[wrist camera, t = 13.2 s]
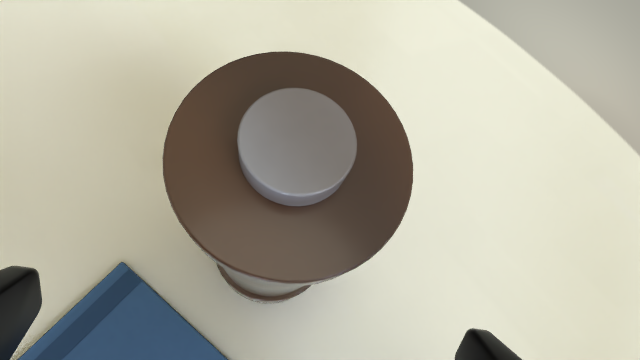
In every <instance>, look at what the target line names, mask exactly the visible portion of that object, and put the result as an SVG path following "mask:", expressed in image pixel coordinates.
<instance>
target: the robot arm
mask: <svg viewBox="0 0 640 360" xmlns="http://www.w3.org/2000/svg"><path fill="white" fill-rule="evenodd" d="M41 304H42V296H41V288H40V280H39V274H38V272H37V270H36V269H34V268H28V267H21V266H10V267H7V268H5V269H2V270H0V360H10V358H11V357H12V355H13V353H14V352H15V350H16V349H17V347H18V345H19V344H20V342H21V341H22V339H23V337H24V336H25V334H26V332H27V331H28V329H29V328H30V326H31V324H32V323H33V321H34V320H35V318H36V316H37V315H38V313H39V311H40V308H41ZM455 360H522V359H521V358H520V357H518V356H517V355H516V354H515V353H514V352H513V351H511V350H510V349H509V348H508V347H507V346H506V345H504V344H503V343H502V342H501V341H500V340H499V339H497V338H496V337H495V336H494V335H493V334H492V333H490V332H489V331H486V330H481V329H473V328H472V329H469V330H468V331H467V332H466V334H465V336H464V338H463V340H462V342H461V344H460V346H459V348H458V350H457V352H456V355H455Z"/></svg>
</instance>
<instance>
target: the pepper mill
mask: <svg viewBox="0 0 640 360" xmlns="http://www.w3.org/2000/svg"><path fill="white" fill-rule="evenodd" d="M163 176H164V182H165V187H166V192H167V195H168V198H169V201H170V203H171V206H172V208H173V210H174V212H175V214H176V216H177V218H178V220H179V222H180V223H181V225H182V226H183V228H184V229H185V230H186V232H187V233H188V234H189V236H190V237H191V238H192V240H193V241H194V242H195V243H196V244H197V245H198V246H199V247H200V248H201V250H202V251H203V252H204V253H205V254H206V255H207V256H209V257H210V258H211V259H212V260H214V261H215V262H216V263H217V266H218V269H219V270H220V272H221V274H222V276H223V277H224V279H225V280H226V281H227V283H228V284H229V285H230V286H231V287H232V288H233V289H234V290H235V291H236V292H237V293H239V294H240V295H241V296H243V297H245V298H247V299H249V300H252V301H255V302H259V303H277V302H282V301H285V300H288V299H290V298H292V297H294V296H297V295H299V294H300V293H302V292H303V291H305V290H306V289H307V288H309V287H310V286H311V285H312V284H318V283H321V282H324V281H327V280H331V279H333V278H336V277H338V276H340V275H342V274H344V273H346V272H349V271H351V270H353V269H355V268H357V267H358V266H360V265H361V264H363V263H364V262H366V261H368V260H369V259H370V258H371V257H373V256H374V255H375V254H376V253H377V252H378V251H380V250H381V249H382V248H383V247H384V245H385V244H386V243H387V242H388V241H389V240H390V238H391V237H392V236H393V234H394V233H395V231H396V230H397V228H398V227H399V225H400V223H401V221H402V219H403V217H404V214H405V212H406V210H407V207H408V203H409V200H410V196H411V190H412V183H413V162H412V154H411V149H410V145H409V142H408V138H407V135H406V133H405V130H404V128H403V125H402V123H401V122H400V120H399V118H398V116H397V114H396V112H395V111H394V110H393V108H392V107H391V105H390V104H389V103H388V101H387V100H386V99H385V98H384V97H383V96H382V94H381V93H380V92H379V91H378V90H377V89H376V88H375V87H373V86H372V85H371V84H370V83H369V82H368V81H367V80H365V79H364V78H362V77H361V76H360V75H358V74H357V73H355V72H353V71H352V70H350V69H348V68H346V67H344V66H343V65H340V64H338V63H336V62H333V61H331V60H328V59H325V58H322V57H318V56H315V55H310V54H305V53H297V52H268V53H261V54H255V55H251V56H247V57H243V58H241V59H238V60H235V61H233V62H230V63H228V64H226V65H224V66H222V67H220V68H219V69H217V70H215V71H214V72H212V73H211V74H209V75H208V76H207V77H205V78H204V79H203V80H202V81H200V82H199V83H198V84H197V85H196V86H195V87H194V88H193V89H192V90H191V91H190V92H189V94H188V95H187V96H186V97H185V98H184V100H183V101H182V103H181V104H180V106H179V108H178V109H177V111H176V112H175V114H174V117H173V119H172V121H171V123H170V126H169V128H168V132H167V135H166V139H165V143H164V151H163Z"/></svg>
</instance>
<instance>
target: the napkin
mask: <svg viewBox="0 0 640 360" xmlns="http://www.w3.org/2000/svg"><path fill="white" fill-rule="evenodd" d="M18 360H228V359H227V358H226V357H225V356H224V355H223V354H222V353H220V352H219V351H218V350H217V349H216V348H215V347H214V346H213V345H212V344H211V343H210V342H209V341H208V340H206V339H205V338H204V337H203V336H202V335H201V334H200V333H199V332H198V331H197V330H196V329H195V328H194V327H192V326H191V325H190V324H189V323H188V322H187V321H186V320H185V319H184V318H183V317H182V316H181V315H180V314H179V313H177V312H176V311H175V310H174V309H173V308H172V307H171V306H170V305H169V304H168V303H167V302H166V301H165V300H163V299H162V298H161V297H160V296H159V295H158V294H157V293H156V292H155V291H154V290H153V289H152V288H151V287H149V286H148V285H147V284H146V283H145V282H144V281H143V280H142V279H141V278H140V277H139V276H138V275H137V274H135V273H134V272H133V271H132V270H131V269H130V268H129V267H128V266H127V265H126V264H125V263H123V262H121V263H120V264H119V265H118V266H117V267H116V268H115V269H114V270H113V271H112V272H110V273H109V274H108V275H107V276H106V277H105V278H104V279H103V280H102V281H101V282H100V283H99V284H98V285H97V286H96V287H94V288H93V289H92V290H91V291H90V292H89V293H88V294H87V295H86V296H85V297H84V298H83V299H82V300H81V301H80V302H79V303H77V304H76V305H75V306H74V307H73V308H72V309H71V310H70V311H69V312H68V313H67V314H66V315H65V316H64V317H63V318H61V319H60V320H59V321H58V322H57V323H56V324H55V325H54V326H53V327H52V328H51V329H50V330H49V331H48V332H47V333H46V334H44V335H43V336H42V337H41V338H40V339H39V340H38V341H37V342H36V343H35V344H34V345H33V346H32V347H31V348H30V349H28V350H27V351H26V352H25V353H24V354H23V355H22V356H21V357H20V358H19V359H18Z"/></svg>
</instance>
